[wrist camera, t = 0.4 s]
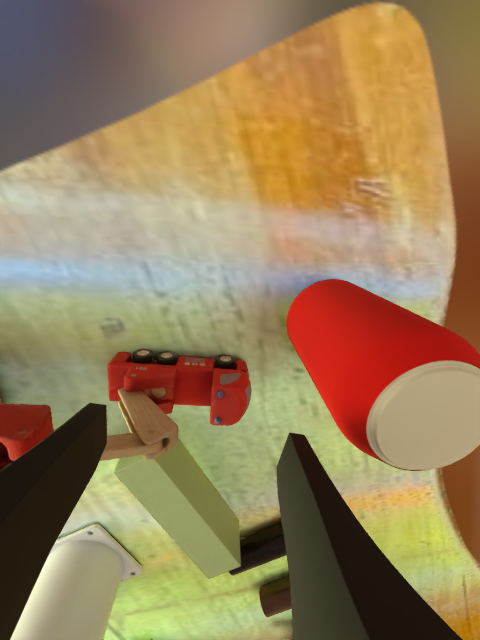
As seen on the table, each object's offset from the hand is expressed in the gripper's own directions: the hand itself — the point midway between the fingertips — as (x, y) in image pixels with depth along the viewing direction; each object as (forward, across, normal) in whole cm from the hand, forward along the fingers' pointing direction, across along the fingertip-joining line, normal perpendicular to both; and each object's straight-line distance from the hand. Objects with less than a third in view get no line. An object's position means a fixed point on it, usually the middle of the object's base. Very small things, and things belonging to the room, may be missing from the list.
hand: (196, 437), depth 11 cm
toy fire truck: (+10, +4, +5) cm, 12 cm away
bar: (+9, 0, +16) cm, 18 cm away
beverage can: (+12, -8, -2) cm, 14 cm away
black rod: (+9, -10, +21) cm, 25 cm away
